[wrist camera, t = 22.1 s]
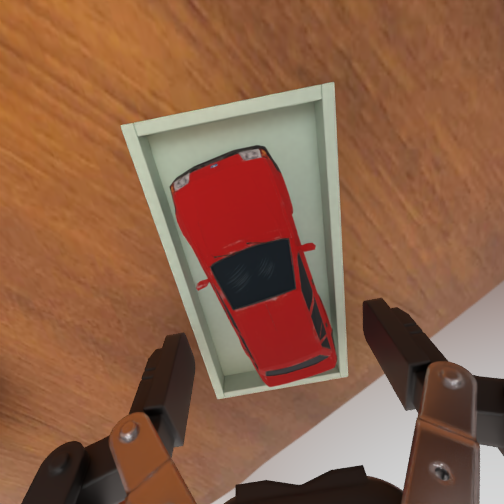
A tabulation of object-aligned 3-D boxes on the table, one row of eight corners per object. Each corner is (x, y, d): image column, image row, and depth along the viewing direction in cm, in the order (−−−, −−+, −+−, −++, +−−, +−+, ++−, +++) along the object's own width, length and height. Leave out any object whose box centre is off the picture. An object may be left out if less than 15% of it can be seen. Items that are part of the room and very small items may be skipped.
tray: (322, 85, 14) (334, 81, 13) (339, 355, 23) (348, 376, 21) (133, 124, 15) (119, 125, 13) (218, 376, 23) (217, 399, 21)
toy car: (273, 131, 15) (290, 139, 10) (336, 332, 21) (364, 393, 16) (160, 177, 15) (129, 203, 11) (253, 358, 21) (258, 423, 17)
